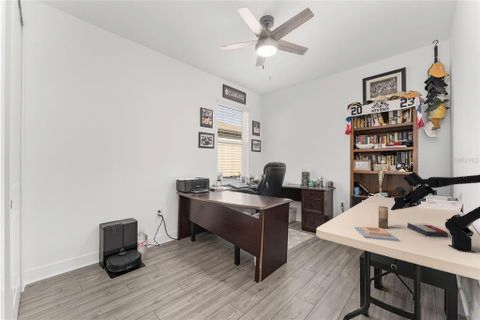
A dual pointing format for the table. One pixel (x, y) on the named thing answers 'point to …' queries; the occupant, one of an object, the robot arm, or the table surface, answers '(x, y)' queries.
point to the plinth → (375, 233)
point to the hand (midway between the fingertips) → (395, 209)
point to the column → (383, 217)
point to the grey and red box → (427, 229)
